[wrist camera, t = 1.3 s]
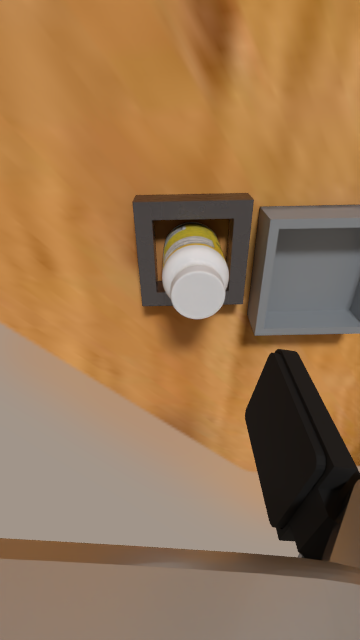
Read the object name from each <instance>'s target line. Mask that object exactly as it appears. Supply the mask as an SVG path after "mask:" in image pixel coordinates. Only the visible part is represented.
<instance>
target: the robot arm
mask: <svg viewBox="0 0 360 640" xmlns="http://www.w3.org/2000/svg"><path fill="white" fill-rule="evenodd" d="M245 420H246V424H247V429H248V433H249V437H250V441H251V446H252V450H253V454H254V458H255V463H256V467H257V471H258V475H259V480H260V484H261V488H262V492H263V497H264V501H265V505H266V509H267V514H268V518H269V521H270V524H271V525H272V527H275V528H276V530H277V534H278V538H279V540H283V541H295V542H296V545H297V549H298V552H299V556H298V558H296V557H285V556H273V555H261V554H248V553H236V552H221V551H205V550H188V549H173V548H158V547H141V546H125V545H108V544H91V543H74V542H57V541H40V540H22V539H4V538H0V640H360V473H359V471H358V468H357V467H356V465H355V463H354V461H353V459H352V457H351V455H350V453H349V451H348V449H347V447H346V445H345V443H344V441H343V439H342V438H341V436H340V434H339V432H338V430H337V428H336V426H335V424H334V422H333V420H332V418H331V416H330V414H329V412H328V410H327V409H326V407H325V405H324V403H323V401H322V399H321V397H320V395H319V393H318V391H317V389H316V387H315V385H314V383H313V382H312V380H311V378H310V376H309V374H308V372H307V370H306V368H305V366H304V364H303V362H302V360H301V358H300V356H299V354H298V353H297V352H295V351H290V350H282V349H277V350H276V351H275V353H271V354H270V355H269V357H268V359H267V361H266V364H265V366H264V368H263V371H262V373H261V375H260V378H259V380H258V383H257V385H256V387H255V390H254V392H253V394H252V397H251V399H250V401H249V404H248V406H247V408H246V412H245Z"/></svg>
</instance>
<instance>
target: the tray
mask: <svg viewBox="0 0 360 640" xmlns="http://www.w3.org/2000/svg"><path fill="white" fill-rule="evenodd" d="M247 315H248V318H249V321H250V324H251V326H252V329H253V332H254V335H303V334H354V333H360V205H321V206H271V207H260V210H259V219H258V227H257V235H256V244H255V252H254V261H253V269H252V278H251V286H250V295H249V303H248V312H247Z"/></svg>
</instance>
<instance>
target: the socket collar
mask: <svg viewBox="0 0 360 640" xmlns="http://www.w3.org/2000/svg"><path fill="white" fill-rule="evenodd" d="M253 202H254V200H253V198H252V197H251V196H250V195H249V194H248V193H229V194H178V195H136V196H135V198H134V200H133V212H134V222H135V233H136V243H137V254H138V264H139V275H140V285H141V296H142V306H173V304H172V301H171V299H170V298H169V296H168V295H167V294H166V292H165V290H164V287H163V282H162V281H158V275H157V259H156V242H155V226H154V220H184V219H229V233H228V248H227V262H226V263H227V267H228V271H229V281H228V286H227V288H226V290H225V300H224V303H223V305H225V304H243V296H244V287H245V277H246V268H247V259H248V249H249V240H250V230H251V221H252V212H253Z"/></svg>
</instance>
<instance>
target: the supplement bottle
mask: <svg viewBox="0 0 360 640" xmlns="http://www.w3.org/2000/svg"><path fill="white" fill-rule="evenodd" d="M228 281H229V271H228V267H227V263H226V261H225V258H224V255H223V252H222V250H221V247H220V244H219V241H218V239H217V237H216V235H215V233H214V232H213V231H212V230H211V229H210V228H209V227H207V226H206V225H204V224H201V223H197V222H187V223H183V224H180V225H178V226H177V227H175V228H174V229H173V230H172V231H171V232H170V233H169V234H168V236H167V238H166V240H165V244H164V252H163V271H162V282H163V287H164V290H165V292H166V294H167V295H168V296H169V298H170V299H171V301H172V304H173V306H174V308H175V309H176V310H177V311H178V312H179V313H180V314H181V315H183V316H185V317H187V318H191V319H203V318H207V317H209V316H212V315H213V314H215V313H216V312H217V311H218V310H219V309H220V308H221V307H222V305H223V303H224V300H225V290H226V288H227V286H228Z"/></svg>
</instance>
